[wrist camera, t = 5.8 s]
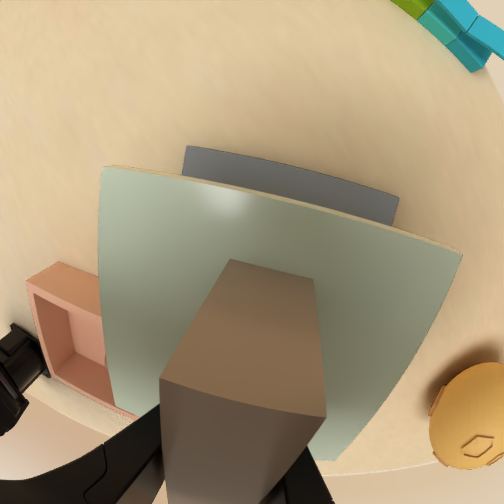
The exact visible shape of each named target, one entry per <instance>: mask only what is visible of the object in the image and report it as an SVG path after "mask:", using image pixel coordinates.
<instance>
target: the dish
mask: <svg viewBox="0 0 504 504" xmlns="http://www.w3.org/2000/svg"><path fill="white" fill-rule="evenodd" d="M26 284H27V290H28V295H29V300H30V305H31V310H32V314H33V318H34V322H35V326H36V330H37V334H38V337H39V341H40V344H41V348H42V351H43V354H44V357H45V360H46V363H47V366H48V369H49V372H50V375H51V376H52V377H54V378H55V379H57V380H58V381H60V382H62V383H63V384H65V385H67V386H68V387H70V388H72V389H73V390H75V391H77V392H79V393H81V394H82V395H84V396H86V397H88V398H90V399H92V400H94V401H95V402H97V403H99V404H101V405H103V406H105V407H107V408H109V409H112V410H114V411H116V412H118V413H120V414H122V415H124V416H127V417H129V418H131V419H134V420H137V419H139V418H140V417H139V416H137V415H134V414H132V413H130V412H128V411H125V410H123V409H121V408H119V407H116V405H115V401H114V396H113V391H112V386H111V381H110V376H109V372H108V371H107V369H106V366H105V362H104V359H105V354H106V351H105V344H104V336H103V328H102V318H101V307H100V294H99V277H97V276H94V275H91V274H89V273H86V272H83V271H81V270H78V269H76V268H73V267H71V266H68V265H66V264H63V263H61V262H57V263H55V264H53V265H52V266H50V267H48V268H46V269H45V270H43V271H41V272H40V273H38V274H36V275H35V276H33V277H31V278H30V279H28V280H26Z"/></svg>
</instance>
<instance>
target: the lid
mask: <svg viewBox="0 0 504 504" xmlns="http://www.w3.org/2000/svg"><path fill="white" fill-rule="evenodd" d="M462 256H463V254H461V253H460V252H458V251H457V250H455V249H454V248H453V247H450V246H448V245H445V244H442V243H439V242H436V241H433V240H430V239H427V238H424V237H421V236H418V235H415V234H412V233H409V232H406V231H403V230H400V229H397V228H394V227H391V226H387V225H384V224H381V223H378V222H374V221H371V220H367V219H364V218H361V217H357V216H354V215H350V214H347V213H343V212H340V211H336V210H332V209H329V208H325V207H321V206H317V205H313V204H310V203H306V202H302V201H298V200H294V199H290V198H286V197H281V196H277V195H273V194H269V193H264V192H260V191H256V190H251V189H247V188H242V187H237V186H233V185H228V184H223V183H218V182H213V181H208V180H203V179H198V178H193V177H187V176H182V175H176V174H170V173H165V172H159V171H153V170H146V169H140V168H133V167H126V166H119V165H111V166H103V167H102V176H101V187H100V200H99V221H98V273H99V294H100V307H101V318H102V328H103V336H104V344H105V351H106V358H107V364H108V370H109V376H110V381H111V386H112V391H113V396H114V401H115V405H116V407H119V408H121V409H123V410H125V411H128V412H130V413H132V414H134V415H137V416H139V417H141V416H143V415H144V414H146V413H147V412H148V411H150V410H151V409H152V408H154V407H155V406H156V405H158V404H159V403H160V423H161V439H162V452H163V463H164V473H165V481H166V490H167V497H168V504H259V503H260V501H261V500H262V499H263V498H264V497H265V496H266V495H267V494H268V493H269V492H270V491H271V489H272V488H273V487H274V486H275V485H276V484H277V483H278V481H279V480H280V479H281V478H282V477H283V475H284V474H285V473H286V472H287V471H288V469H289V468H290V467H291V466H292V464H293V463H294V462H295V461H296V459H297V458H298V457H299V455H300V454H301V453H302V452H303V450H304V449H305V448H306V446H308V448H309V450H310V452H311V454H312V457H313V459H314V460H323V461H335V460H336V459H337V458H338V457H339V456H340V455H341V454H342V452H343V451H344V450H345V449H346V448H347V447H348V446H349V445H350V444H351V442H352V441H353V440H354V439H355V438H356V437H357V435H358V434H359V433H360V432H361V431H362V429H363V428H364V427H365V426H366V425H367V423H368V422H369V421H370V420H371V418H372V417H373V416H374V414H375V413H376V412H377V411H378V409H379V408H380V407H381V405H382V404H383V402H384V401H385V400H386V398H387V397H388V396H389V394H390V393H391V391H392V390H393V388H394V387H395V385H396V384H397V383H398V381H399V380H400V378H401V376H402V375H403V373H404V372H405V370H406V369H407V367H408V366H409V364H410V362H411V361H412V359H413V357H414V356H415V354H416V352H417V351H418V349H419V347H420V345H421V344H422V342H423V340H424V338H425V337H426V335H427V333H428V331H429V329H430V327H431V325H432V323H433V322H434V320H435V318H436V316H437V314H438V312H439V310H440V308H441V305H442V303H443V301H444V299H445V297H446V295H447V292H448V290H449V288H450V286H451V283H452V281H453V279H454V276H455V274H456V271H457V269H458V266H459V264H460V261H461V258H462Z"/></svg>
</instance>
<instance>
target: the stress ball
mask: <svg viewBox="0 0 504 504" xmlns="http://www.w3.org/2000/svg"><path fill="white" fill-rule="evenodd" d="M428 415H429V416H431V418H430V424H429V436H430V441H431V445H432V448H433V450H434V451H433V454H434V455H435V457H436V458H437V459H438V460H439V462H441V463H442V464H443V465H445V466H446V467H448V466H451V467H453V468H457V469H467V470H471V469H476V468H479V467H482V466H485V465H487V466H489V465H491V464H493V463H494V462H496V461H497V460H499V459H500V458H502V457H503V456H504V364H501V363H496V362H487V363H481V364H477V365H474V366H472V367H470V368H468V369H466V370H464V371H462V372H461V373H460V374H458V375H457V376H456V377H455V378H453V379H452V380H451V381H450V382H449V383H448V385H447V386H445V385H443V386H442V388H441V389H440V391H439V393H438V395H437V397H436V399H435V401H434V402H433V405H432V407H431V409H430V410H429V414H428Z"/></svg>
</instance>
